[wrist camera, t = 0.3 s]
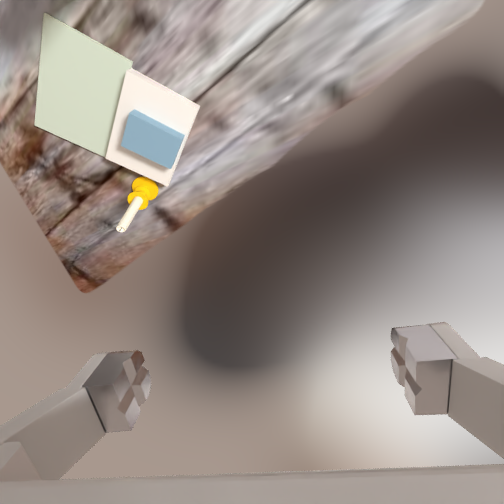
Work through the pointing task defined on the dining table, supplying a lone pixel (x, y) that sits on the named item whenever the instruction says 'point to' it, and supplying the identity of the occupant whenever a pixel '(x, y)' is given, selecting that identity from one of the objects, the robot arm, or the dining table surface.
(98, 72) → the mat
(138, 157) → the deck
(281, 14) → the dining table surface
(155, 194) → the candle
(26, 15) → the dining table surface
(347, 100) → the dining table surface
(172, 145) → the tile
